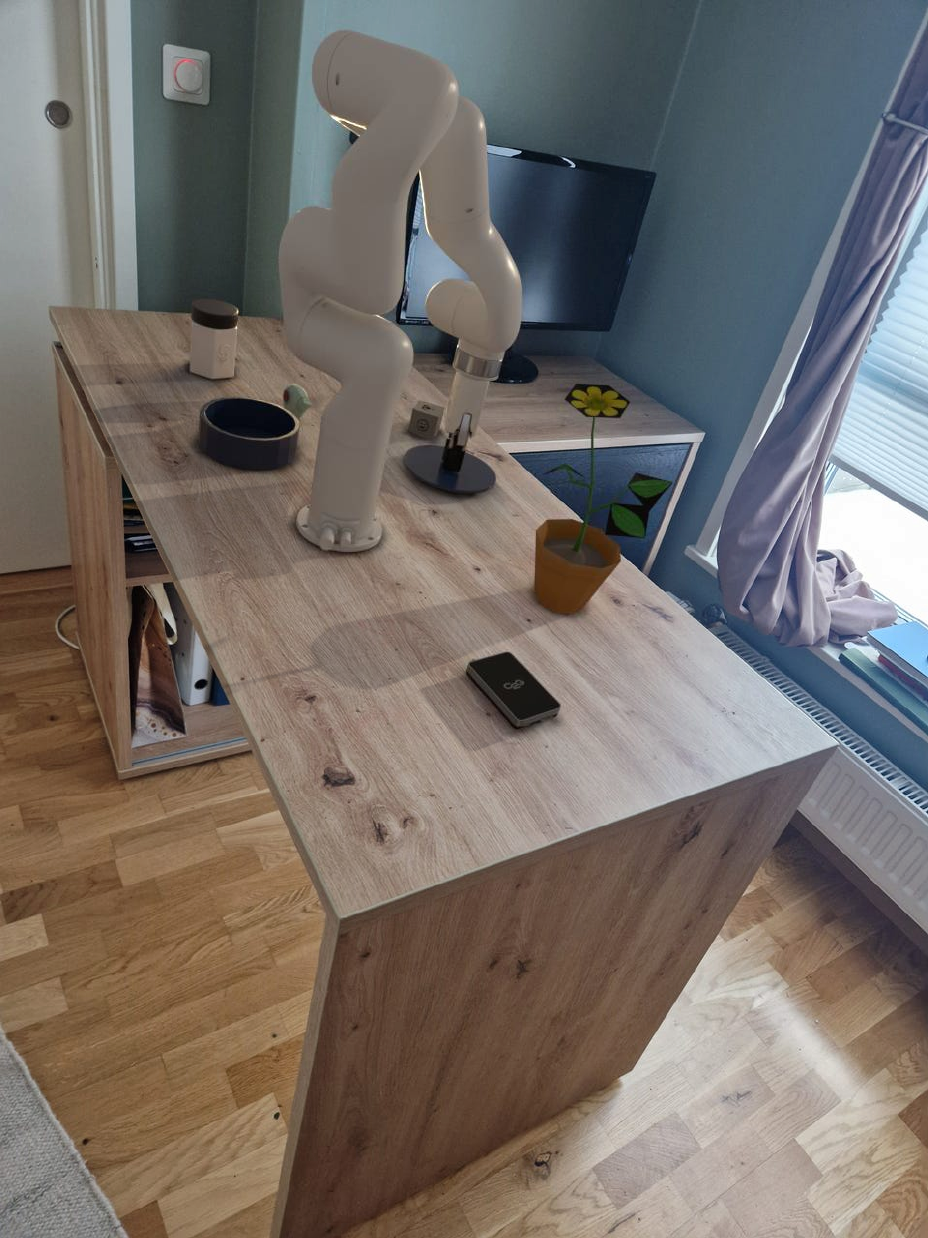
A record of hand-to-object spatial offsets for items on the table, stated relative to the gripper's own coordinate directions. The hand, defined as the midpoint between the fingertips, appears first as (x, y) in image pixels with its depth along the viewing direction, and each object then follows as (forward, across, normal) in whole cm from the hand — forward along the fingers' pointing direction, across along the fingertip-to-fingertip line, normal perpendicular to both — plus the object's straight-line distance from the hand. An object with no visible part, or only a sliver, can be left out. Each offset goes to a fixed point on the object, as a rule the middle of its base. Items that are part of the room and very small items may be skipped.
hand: (450, 464), depth 142 cm
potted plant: (+3, +31, +16) cm, 36 cm away
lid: (+1, 0, 0) cm, 1 cm away
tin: (+3, +3, -34) cm, 34 cm away
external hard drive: (+4, +54, +8) cm, 55 cm away
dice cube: (+3, -17, -5) cm, 17 cm away
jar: (+3, -25, -46) cm, 52 cm away
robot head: (+3, -10, -28) cm, 30 cm away
